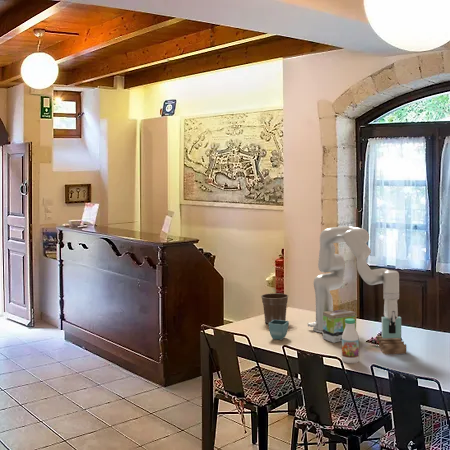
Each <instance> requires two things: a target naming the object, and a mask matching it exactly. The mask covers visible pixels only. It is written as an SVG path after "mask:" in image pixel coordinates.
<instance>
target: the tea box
mask: <svg viewBox="0 0 450 450" xmlns="http://www.w3.org/2000/svg"><path fill="white" fill-rule="evenodd" d="M348 318H351V319H355V329H356V330H357V312H356V311H353V310H350V309H346V308H343V309H337V310H334V309H333V311H327V312H323V333H322V339H323V340H326V341H327V342H330V343H333V344H334V343H338V342H342V335H343V332H344V329H345V326H346V324H345V319H348Z"/></svg>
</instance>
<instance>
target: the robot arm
mask: <svg viewBox="0 0 450 450" xmlns="http://www.w3.org/2000/svg"><path fill="white" fill-rule="evenodd" d="M369 240H370V234H369V232H368V231H367V230H366V229H365V228H362V227H355V226H346V225H345V226H338V227H337V226H335V227H329V228H325V229H324V230H322V231H321V233H320V235H319V252H318V260H317V261H318V263H317V266H318V267H317V268H318V270H319V271H320V272H321V273H322V274H318V275H317V276H315V278H314V279H313V288H314V294H315V320H314V322H307V327H309V328H312V329H313V332H317V333H322V334H323V312H327V311H334V305H333V304H334V303H333V301H334V299H333V295H332V294H331V291H334V290H338V289H340V288H341V287H342V286H343V284H344V277H345V269H346V262H345V259H344V257H343V256H342V255H341V254H338V253H336V247H335V244H341V243H345V244H346V246H347V247H348V249H349V250H350V251H351V253H352V254H353V256H354V257H355V258H356V270H357V272H358V274H359V276H360V278H361V279H362V280H363V281H364V282H365V283H366V284H367V285H369V286H375V285H379V284H380V285H381V284H382V285H383V289H382V291H383V293H382V294H383V295H382V296H383V300H384V301H383V302H384V304H383V317H386V318H387V319H388V320H389V333H396V323H395V322H396V321H395V318H396V319H397V318H398V317H399V316H398V315H399V312H398V310H399V309H398V300H399V299H400V273H399V271H397V270H392V269H387V268H382V267H380V268H374V269H371V268H370V266H369V264H368V262H367V258H369V256H370V255H371V253H372V251H371V248H370V247H369V245H368V244H367V243H368V242H369ZM391 318H392V319H391Z"/></svg>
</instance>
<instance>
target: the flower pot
mask: <svg viewBox="0 0 450 450" xmlns="http://www.w3.org/2000/svg"><path fill="white" fill-rule="evenodd" d="M289 323H290V321H289V320H286V321H282V320H273V321H271V322H270V323H267V325H268V329H269V334H270V337H271V339H273V340H280V341H282V340H283V339H285V337H286V336H287V335H288V334H287V333H288V331H289Z"/></svg>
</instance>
